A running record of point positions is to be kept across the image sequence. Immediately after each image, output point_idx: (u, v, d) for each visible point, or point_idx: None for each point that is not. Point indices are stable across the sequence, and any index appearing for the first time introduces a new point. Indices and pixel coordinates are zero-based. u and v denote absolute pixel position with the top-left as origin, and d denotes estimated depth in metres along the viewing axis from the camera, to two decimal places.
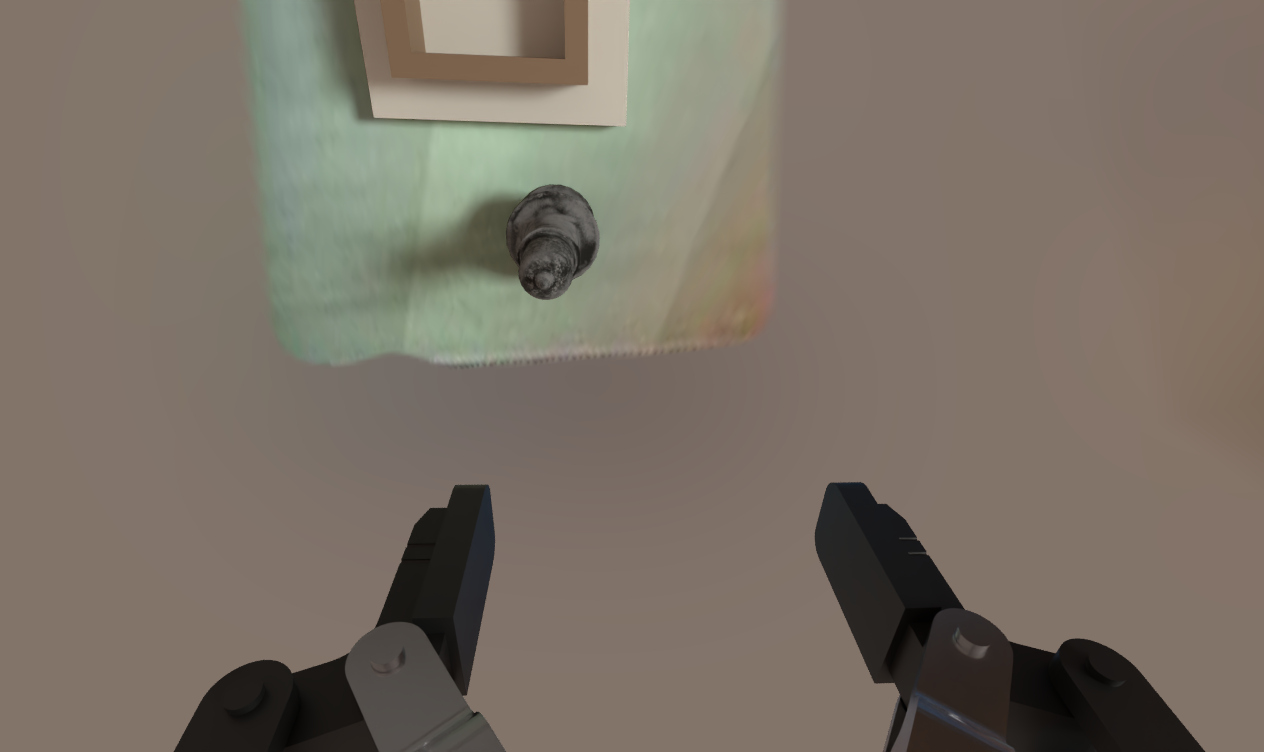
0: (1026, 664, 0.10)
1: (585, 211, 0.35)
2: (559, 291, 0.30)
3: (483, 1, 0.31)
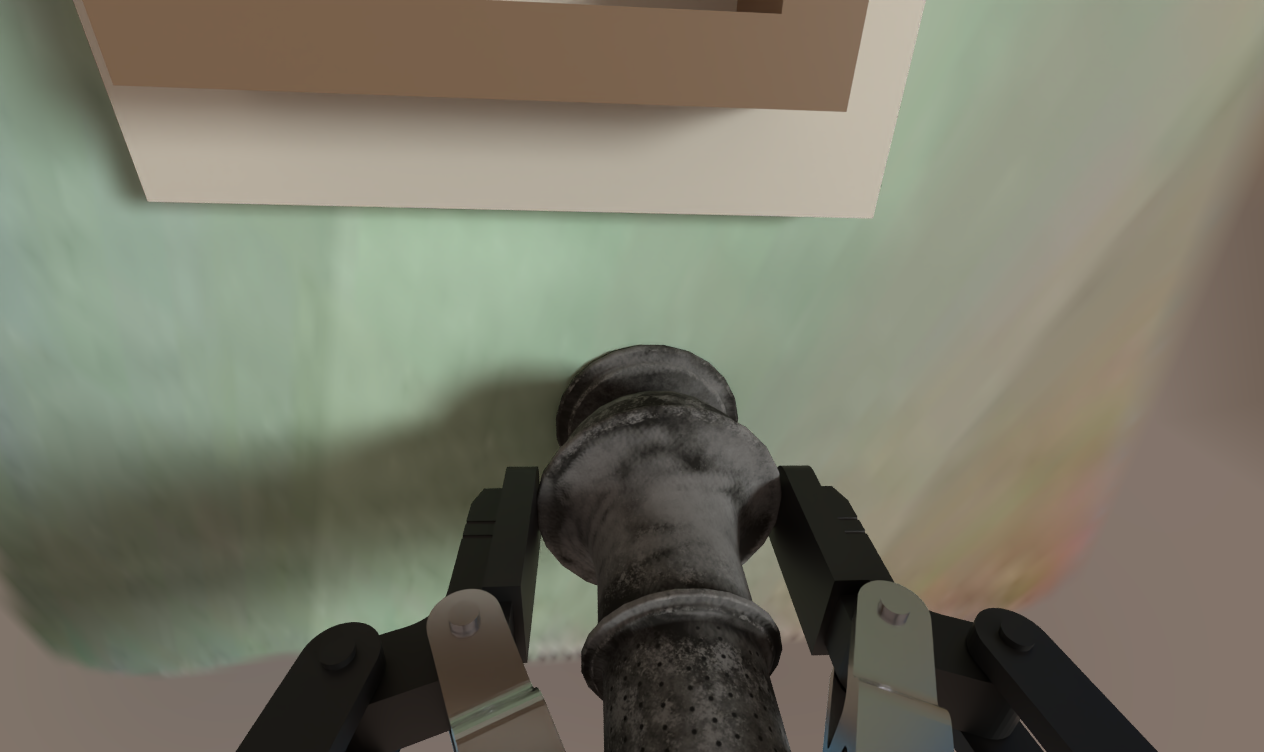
0: (947, 633, 0.10)
1: (756, 452, 0.13)
2: None
3: None
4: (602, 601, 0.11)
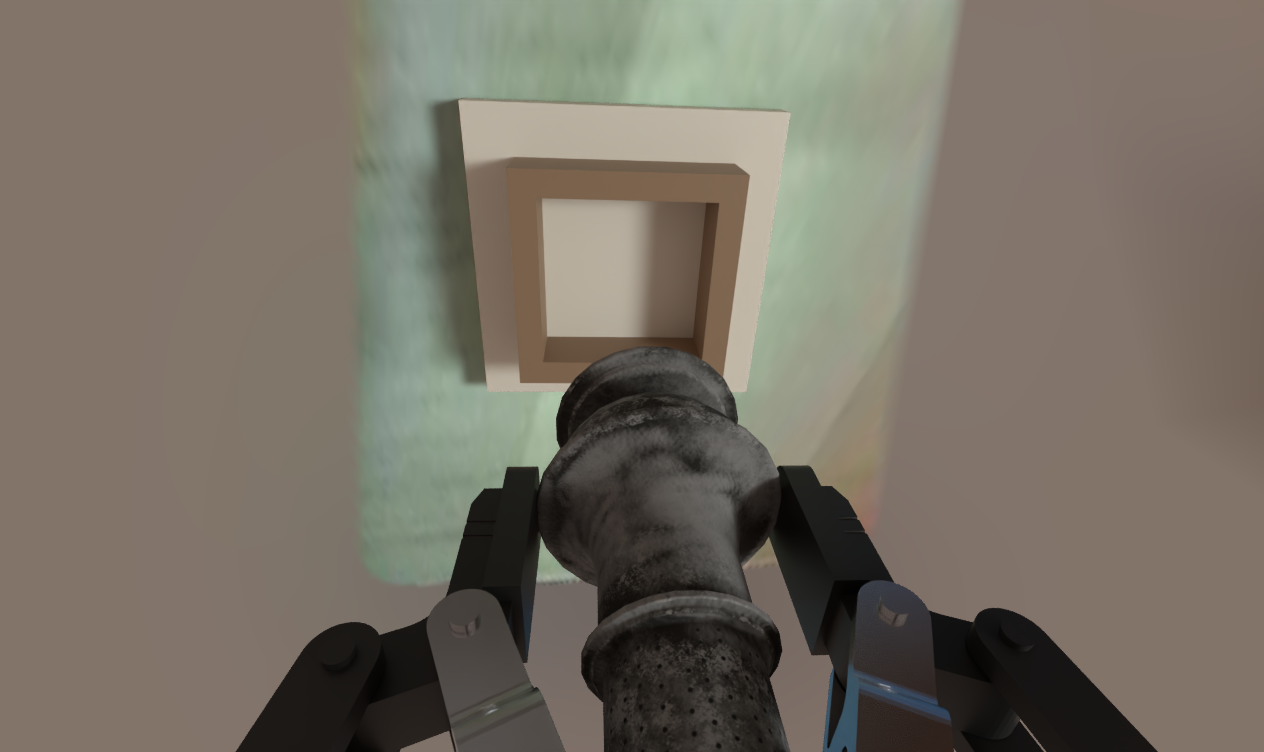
0: (946, 633, 0.10)
1: (756, 453, 0.13)
2: None
3: (611, 292, 0.30)
4: (602, 603, 0.11)
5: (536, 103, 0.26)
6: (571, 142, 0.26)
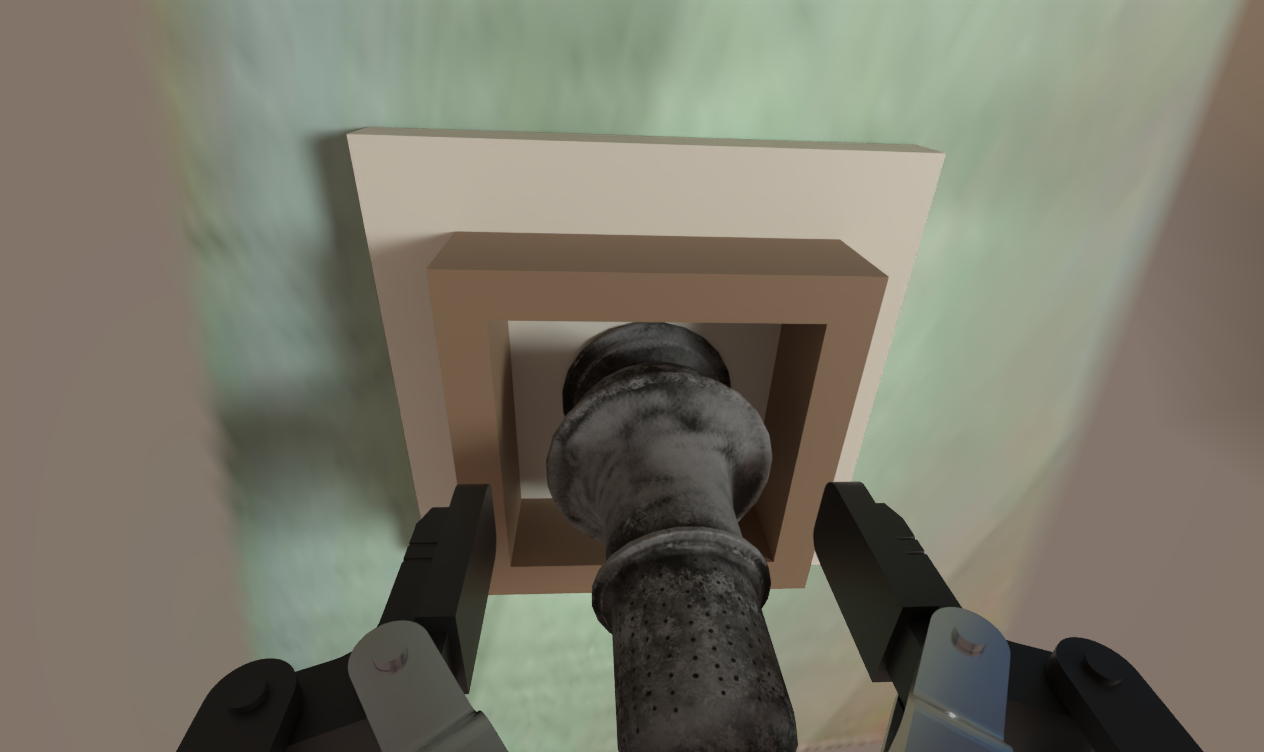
0: (1023, 663, 0.10)
1: (747, 415, 0.14)
2: None
3: None
4: (609, 545, 0.12)
5: (491, 139, 0.14)
6: (555, 206, 0.15)
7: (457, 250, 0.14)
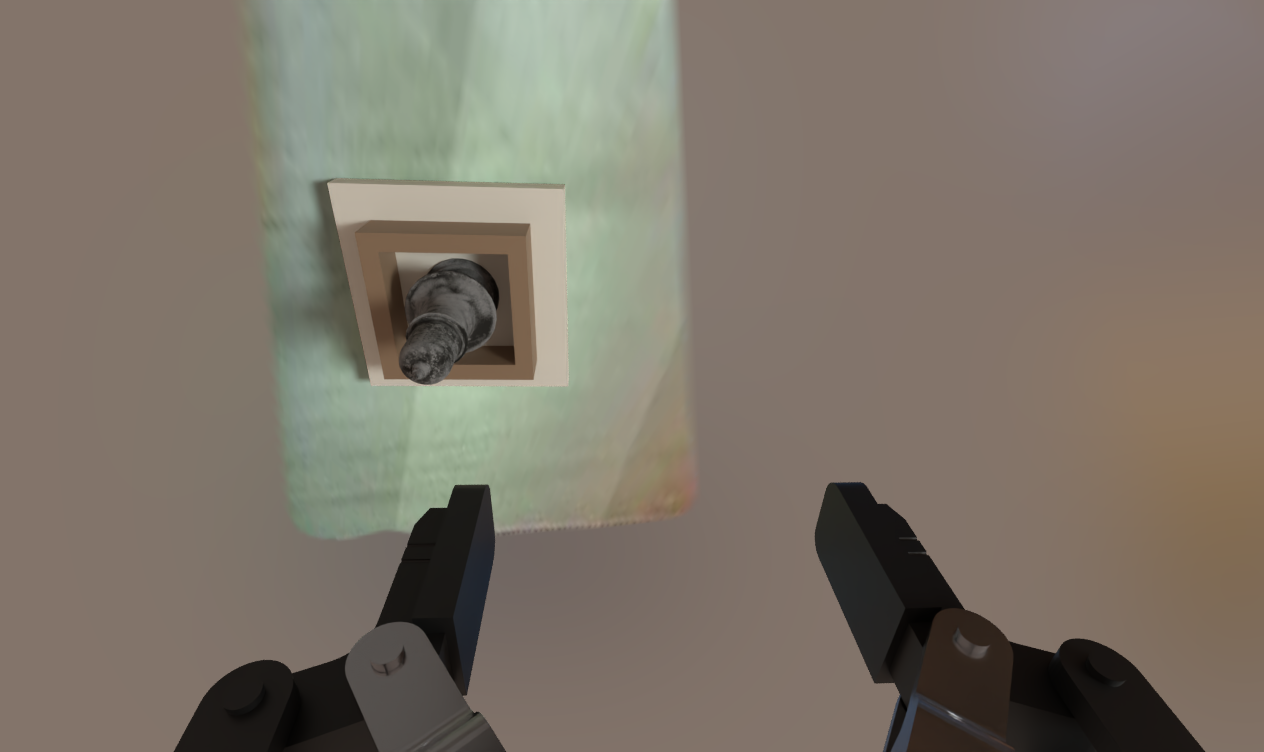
0: (1026, 664, 0.10)
1: (479, 289, 0.37)
2: (438, 378, 0.32)
3: None
4: None
5: (382, 184, 0.37)
6: (410, 210, 0.38)
7: (368, 226, 0.36)
